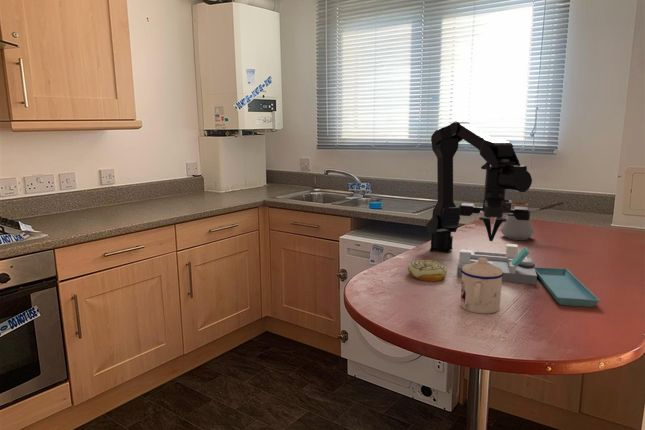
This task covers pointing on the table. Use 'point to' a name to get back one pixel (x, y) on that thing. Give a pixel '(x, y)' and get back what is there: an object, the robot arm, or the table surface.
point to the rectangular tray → (566, 287)
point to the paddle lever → (519, 257)
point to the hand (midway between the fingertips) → (490, 240)
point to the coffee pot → (521, 223)
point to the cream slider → (511, 250)
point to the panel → (506, 267)
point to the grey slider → (465, 256)
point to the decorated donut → (427, 270)
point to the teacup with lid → (481, 287)
